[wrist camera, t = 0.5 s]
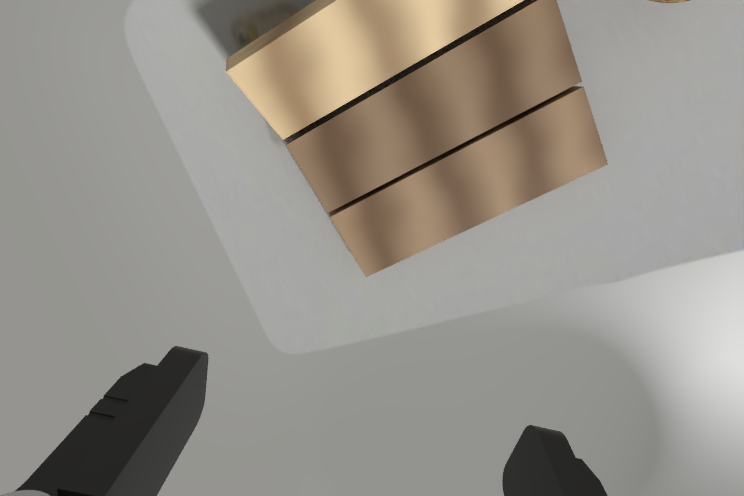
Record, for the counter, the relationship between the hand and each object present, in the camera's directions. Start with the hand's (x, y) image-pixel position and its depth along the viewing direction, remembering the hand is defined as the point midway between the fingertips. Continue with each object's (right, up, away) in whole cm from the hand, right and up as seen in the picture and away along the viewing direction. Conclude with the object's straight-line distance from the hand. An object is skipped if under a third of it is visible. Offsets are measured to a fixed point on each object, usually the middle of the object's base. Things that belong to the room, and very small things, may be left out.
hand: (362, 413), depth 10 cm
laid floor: (+6, +12, +24) cm, 28 cm away
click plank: (+1, +21, +18) cm, 28 cm away
